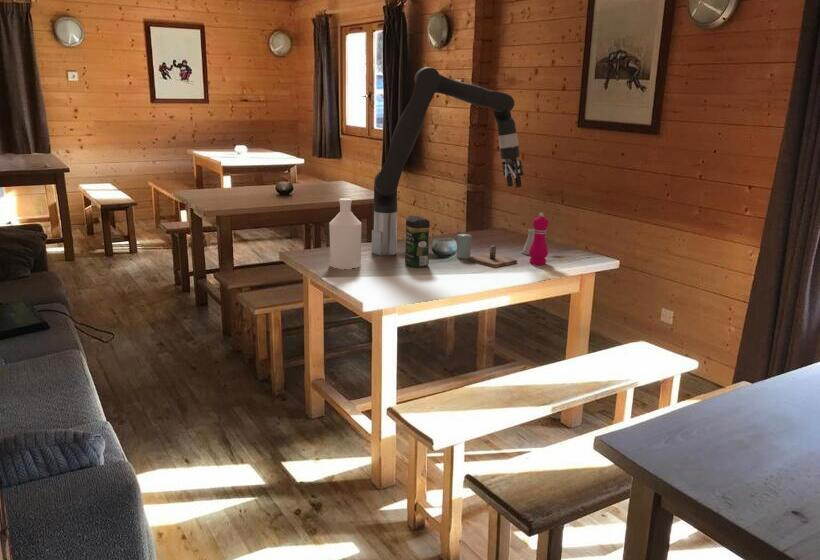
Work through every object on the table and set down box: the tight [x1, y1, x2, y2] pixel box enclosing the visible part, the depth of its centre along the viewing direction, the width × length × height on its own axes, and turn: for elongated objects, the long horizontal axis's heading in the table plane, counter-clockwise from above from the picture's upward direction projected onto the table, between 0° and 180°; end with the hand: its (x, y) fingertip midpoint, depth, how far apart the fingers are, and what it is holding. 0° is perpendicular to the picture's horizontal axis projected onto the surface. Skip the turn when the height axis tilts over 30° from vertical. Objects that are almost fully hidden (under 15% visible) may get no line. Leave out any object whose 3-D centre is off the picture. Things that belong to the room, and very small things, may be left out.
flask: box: [521, 228, 534, 256], centre depth 279 cm, size 7×7×10 cm
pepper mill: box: [529, 212, 550, 266], centre depth 261 cm, size 7×7×20 cm
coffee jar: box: [404, 215, 431, 268], centre depth 254 cm, size 10×8×19 cm
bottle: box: [328, 197, 363, 270], centre depth 249 cm, size 12×12×25 cm
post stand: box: [467, 245, 518, 268], centre depth 264 cm, size 13×14×6 cm
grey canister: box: [456, 233, 472, 260], centre depth 270 cm, size 5×5×9 cm
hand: (514, 186), depth 270 cm, fingers open, 8 cm apart
